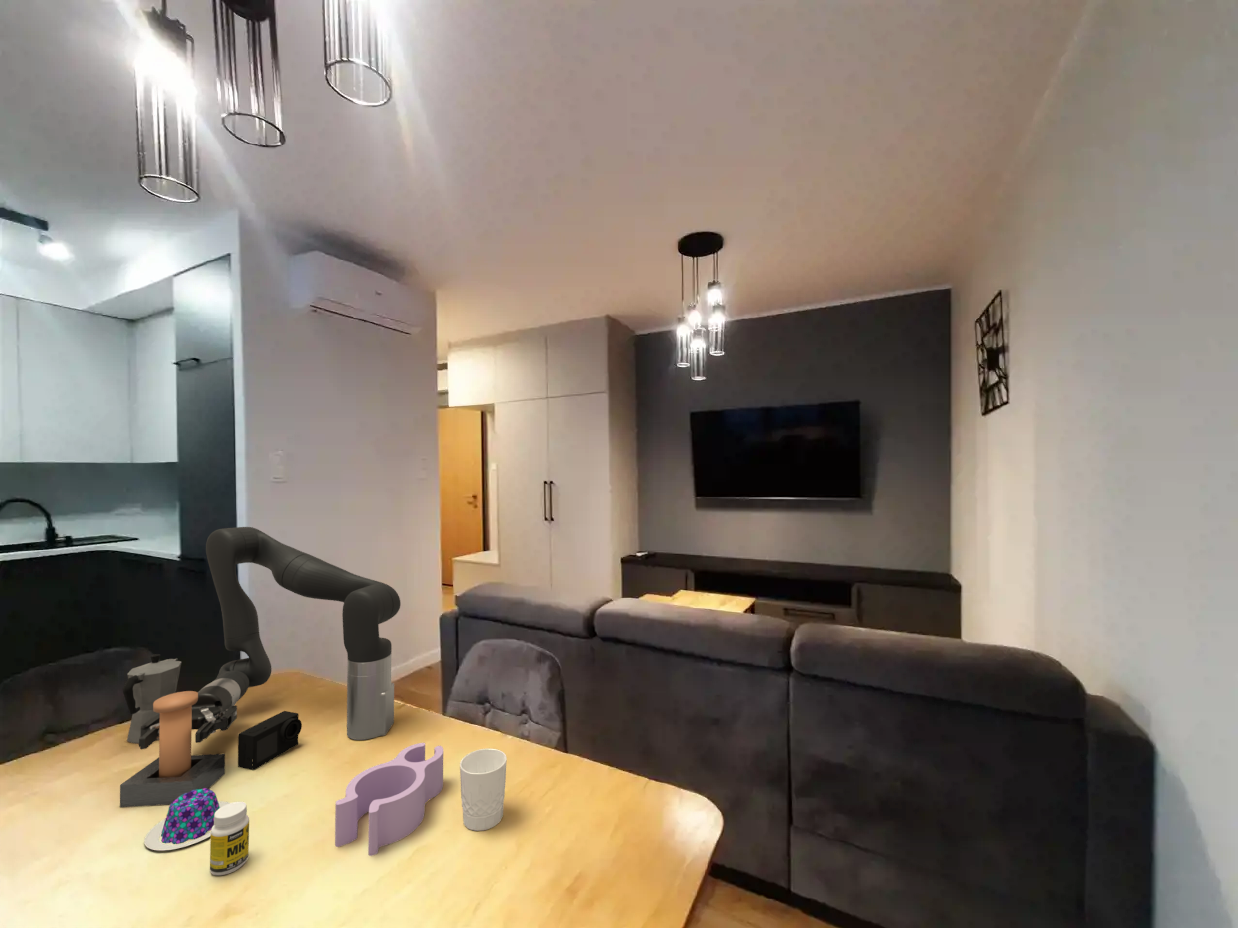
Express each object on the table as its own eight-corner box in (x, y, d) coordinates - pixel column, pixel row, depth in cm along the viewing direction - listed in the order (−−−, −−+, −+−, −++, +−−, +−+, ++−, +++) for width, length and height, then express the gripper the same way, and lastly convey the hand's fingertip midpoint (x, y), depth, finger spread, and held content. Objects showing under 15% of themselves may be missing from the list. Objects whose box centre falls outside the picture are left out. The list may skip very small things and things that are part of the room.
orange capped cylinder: (205, 778, 101) (206, 690, 101) (180, 799, 94) (181, 705, 94) (169, 780, 100) (170, 691, 100) (142, 801, 94) (143, 706, 94)
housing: (224, 773, 102) (225, 753, 102) (192, 803, 93) (192, 780, 93) (159, 777, 101) (159, 756, 101) (119, 807, 92) (120, 784, 92)
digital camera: (257, 772, 103) (257, 737, 103) (237, 767, 105) (237, 732, 105) (302, 745, 113) (303, 713, 113) (283, 741, 115) (284, 710, 115)
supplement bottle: (227, 879, 76) (228, 821, 76) (201, 873, 77) (202, 817, 77) (256, 855, 81) (257, 801, 81) (231, 850, 82) (232, 797, 82)
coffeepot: (152, 720, 123) (153, 645, 124) (196, 718, 125) (197, 643, 125) (98, 756, 108) (99, 670, 108) (149, 752, 110) (150, 668, 110)
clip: (405, 773, 103) (405, 739, 103) (459, 785, 99) (459, 749, 100) (321, 843, 84) (322, 800, 84) (385, 860, 80) (385, 816, 80)
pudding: (161, 815, 90) (161, 785, 90) (244, 798, 95) (244, 770, 95) (129, 864, 79) (130, 830, 79) (224, 841, 84) (225, 809, 84)
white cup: (514, 808, 92) (515, 752, 92) (489, 838, 85) (490, 777, 85) (477, 799, 95) (477, 744, 95) (449, 827, 87) (450, 768, 88)
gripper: (173, 688, 109) (123, 725, 94) (251, 681, 113) (215, 715, 98) (173, 724, 109) (123, 766, 94) (250, 715, 113) (215, 755, 98)
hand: (170, 740), depth 96 cm, fingers open, 8 cm apart
